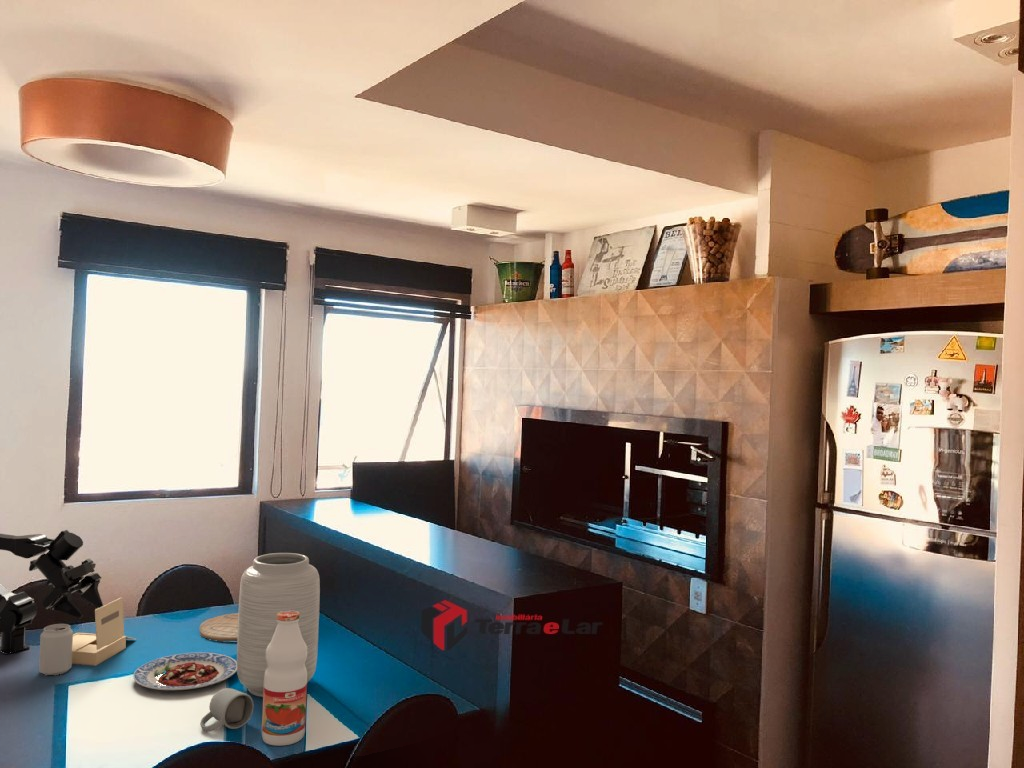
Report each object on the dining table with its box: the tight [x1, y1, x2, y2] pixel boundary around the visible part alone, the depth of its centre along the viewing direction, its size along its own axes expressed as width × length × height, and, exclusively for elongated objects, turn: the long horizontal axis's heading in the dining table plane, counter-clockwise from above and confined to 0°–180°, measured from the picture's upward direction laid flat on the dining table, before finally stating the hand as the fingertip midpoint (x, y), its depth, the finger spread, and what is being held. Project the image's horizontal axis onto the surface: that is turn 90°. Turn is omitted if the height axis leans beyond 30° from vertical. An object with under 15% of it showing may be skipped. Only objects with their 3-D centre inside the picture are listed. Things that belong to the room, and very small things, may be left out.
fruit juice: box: [261, 610, 308, 747], centre depth 174 cm, size 9×9×28 cm
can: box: [38, 623, 74, 676], centre depth 206 cm, size 8×8×12 cm
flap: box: [94, 597, 125, 650], centre depth 218 cm, size 1×12×11 cm, turn 174°
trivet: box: [198, 612, 239, 642], centre depth 245 cm, size 25×25×2 cm
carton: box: [72, 632, 137, 667], centre depth 222 cm, size 15×21×4 cm
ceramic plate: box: [132, 652, 237, 691], centre depth 206 cm, size 26×26×3 cm
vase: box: [236, 552, 321, 698], centre depth 202 cm, size 20×20×34 cm
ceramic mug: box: [200, 687, 255, 733], centre depth 179 cm, size 11×8×8 cm
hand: (91, 612), depth 218 cm, fingers open, 9 cm apart
